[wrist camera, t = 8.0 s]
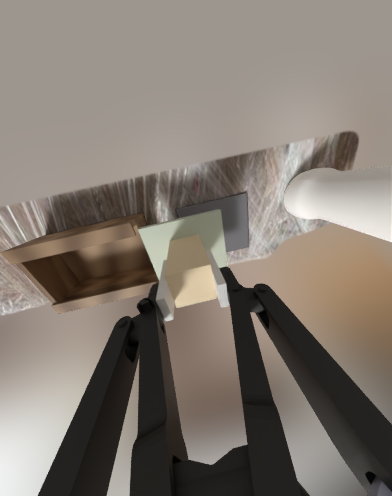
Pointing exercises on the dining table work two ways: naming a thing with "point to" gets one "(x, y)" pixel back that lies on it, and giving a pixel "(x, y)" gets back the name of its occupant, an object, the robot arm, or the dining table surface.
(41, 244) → the walnut box
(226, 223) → the mat
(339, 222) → the bottle
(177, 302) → the lid
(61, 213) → the dining table surface
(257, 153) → the dining table surface
